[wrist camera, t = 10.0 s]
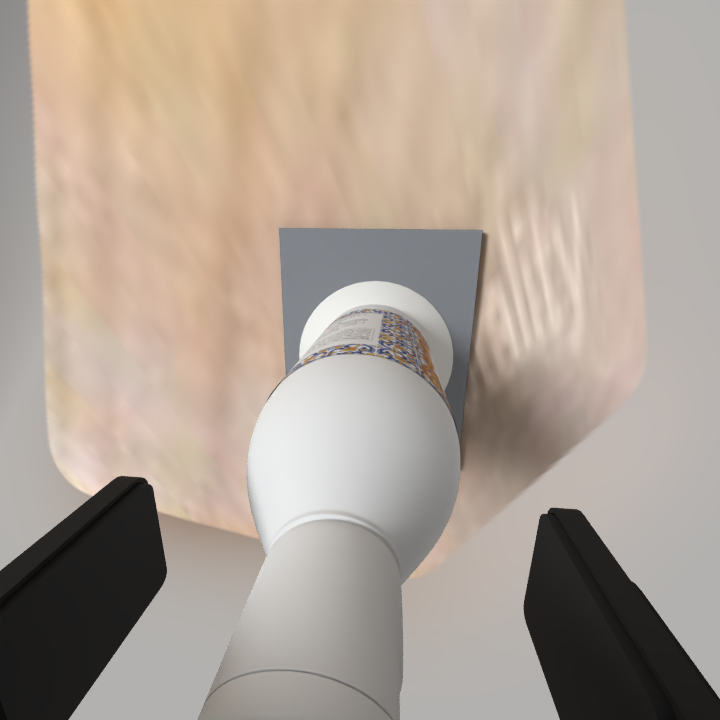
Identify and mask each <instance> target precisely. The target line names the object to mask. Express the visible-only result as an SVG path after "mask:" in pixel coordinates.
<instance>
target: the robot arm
mask: <svg viewBox="0 0 720 720" xmlns="http://www.w3.org/2000/svg"><path fill="white" fill-rule="evenodd" d="M166 574H167V567H166V561H165V555H164V550H163V544H162V538H161V532H160V527H159V520H158V515H157V509H156V503H155V497H154V491H153V488H152V486H151V485H149V484H148V482H147V480H146V479H145V478H141V477H127V476H120V477H117V478H115V479H114V480H113V481H111V482H110V483H109V484H108V485H106V486H105V487H104V488H103V489H101V490H100V491H99V492H98V493H96V494H95V495H94V496H93V497H91V498H90V499H89V500H88V501H86V502H85V503H84V504H83V505H82V506H80V507H79V508H78V509H77V510H75V511H74V512H73V513H72V514H70V515H69V516H68V517H67V518H65V519H64V520H63V521H62V522H60V523H59V524H58V525H57V526H56V527H54V528H53V529H52V530H50V531H49V532H48V533H47V534H45V535H44V536H43V537H42V538H40V539H39V540H38V541H37V542H36V543H34V544H33V545H32V546H31V547H29V548H28V549H27V550H26V551H24V552H23V553H22V554H21V555H20V556H18V557H17V558H16V559H14V560H13V561H12V562H11V563H10V564H8V565H7V566H6V567H4V568H3V569H2V570H1V571H0V720H68V719H69V718H70V717H71V715H72V714H73V712H74V711H75V709H76V708H77V706H78V705H79V704H80V702H81V701H82V699H83V698H84V697H85V695H86V694H87V692H88V691H89V689H90V688H91V686H92V685H93V684H94V682H95V681H96V679H97V678H98V677H99V675H100V674H101V672H102V671H103V670H104V668H105V667H106V665H107V664H108V662H109V661H110V660H111V658H112V657H113V655H114V654H115V652H116V651H117V650H118V648H119V647H120V645H121V644H122V642H123V641H124V639H125V638H126V637H127V635H128V634H129V632H130V631H131V630H132V628H133V627H134V625H135V624H136V622H137V621H138V620H139V618H140V617H141V615H142V614H143V612H144V611H145V609H146V608H147V607H148V605H149V604H150V602H151V601H152V599H153V598H154V597H155V595H156V594H157V592H158V591H159V590H160V588H161V587H162V585H163V583H164V581H165V578H166ZM524 616H525V620H526V624H527V627H528V630H529V633H530V635H531V638H532V641H533V644H534V647H535V650H536V653H537V655H538V658H539V661H540V664H541V667H542V670H543V673H544V675H545V678H546V681H547V684H548V687H549V690H550V692H551V695H552V698H553V701H554V704H555V707H556V710H557V712H558V715H559V718H560V720H720V699H719V697H718V696H717V694H716V693H715V692H714V690H713V689H712V688H711V686H710V685H709V684H708V682H707V681H706V679H705V678H704V677H703V675H702V674H701V672H699V670H698V668H697V667H696V665H695V664H694V663H693V661H692V660H691V659H690V657H689V656H688V655H687V653H686V652H685V650H684V649H683V648H682V646H681V645H680V643H679V642H678V641H677V639H676V638H675V636H674V635H673V634H672V632H671V631H670V630H669V628H668V627H667V625H666V624H665V623H664V621H663V620H662V619H661V617H660V616H659V614H658V613H657V612H656V610H655V609H654V607H653V606H652V605H651V603H650V602H649V601H648V599H647V598H646V596H645V595H644V594H643V592H642V591H641V590H640V589H639V588H638V586H637V585H636V584H635V583H633V582H632V581H631V580H630V579H629V578H628V576H627V575H626V573H625V572H624V571H623V569H622V568H621V566H620V565H619V564H618V562H617V561H616V560H615V558H614V557H613V555H612V554H611V553H610V551H609V550H608V548H607V547H606V545H605V544H604V543H603V541H602V540H601V539H600V537H599V536H598V534H597V533H596V531H595V530H594V529H593V527H592V526H591V525H590V523H589V522H588V520H587V519H586V517H585V516H584V515H583V514H582V512H581V511H579V510H577V509H563V508H550V509H549V511H548V513H547V514H542V515H541V516H540V519H539V525H538V530H537V535H536V541H535V547H534V551H533V557H532V563H531V568H530V573H529V579H528V584H527V589H526V594H525V600H524Z"/></svg>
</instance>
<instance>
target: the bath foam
mask: <svg viewBox="0 0 720 720" xmlns="http://www.w3.org/2000/svg"><path fill="white" fill-rule="evenodd" d="M459 480H460V446H459V436H458V431H457V427H456V423H455V420H454V417H453V414H452V412H451V409H450V406H449V403H448V400H447V397H446V395H445V392H444V389H443V386H442V383H441V380H440V378H439V375H438V372H437V369H436V366H435V363H434V360H433V358H432V355H431V352H430V349H429V346H428V344H427V342H426V339H425V337H424V335H423V333H422V331H421V329H420V328H419V327H418V325H417V324H416V323H415V322H414V321H413V320H412V319H411V318H410V317H409V316H408V315H406V314H405V313H403V312H401V311H400V310H398V309H395V308H393V307H390V306H386V305H376V304H369V305H361V306H357V307H354V308H351V309H349V310H347V311H345V312H344V313H342V314H341V315H339V316H338V317H337V318H336V319H335V320H334V321H333V322H332V323H331V324H330V325H329V326H328V327H327V328H326V329H325V331H324V332H323V333H322V334H321V335H320V336H319V338H318V339H317V340H316V341H315V342H314V343H313V345H312V346H311V347H310V348H309V349H308V350H307V352H306V353H305V354H304V355H303V356H302V357H301V359H300V360H299V361H298V362H297V363H296V364H295V366H294V367H293V368H292V369H291V370H290V372H289V373H288V374H287V375H286V376H285V377H284V379H283V380H282V381H281V382H280V383H279V384H278V386H277V387H276V388H275V389H274V391H273V392H272V393H271V395H270V396H269V398H268V400H267V402H266V404H265V406H264V408H263V410H262V412H261V414H260V416H259V418H258V421H257V423H256V426H255V429H254V432H253V435H252V439H251V443H250V448H249V453H248V462H247V487H248V496H249V502H250V507H251V511H252V515H253V519H254V522H255V526H256V529H257V532H258V535H259V538H260V541H261V544H262V546H263V549H264V552H265V555H266V559H265V561H264V563H263V566H262V568H261V570H260V572H259V575H258V577H257V579H256V581H255V584H254V586H253V588H252V591H251V593H250V596H249V598H248V600H247V603H246V605H245V607H244V610H243V612H242V615H241V617H240V619H239V622H238V624H237V627H236V629H235V631H234V634H233V636H232V638H231V641H230V643H229V646H228V649H227V651H226V653H225V655H224V658H223V660H222V662H221V665H220V667H219V670H218V672H217V674H216V677H215V679H214V682H213V684H212V686H211V689H210V692H209V694H208V696H207V698H206V701H205V703H204V706H203V708H202V710H201V713H200V715H199V717H198V720H400V711H399V710H400V706H399V705H400V704H399V695H400V691H401V686H402V678H403V626H402V595H401V585H402V584H403V583H404V582H405V581H406V580H407V578H408V577H409V576H410V575H411V574H412V573H413V572H414V570H415V569H416V568H417V567H418V566H419V565H420V563H421V562H422V561H423V560H424V559H425V557H426V556H427V555H428V554H429V552H430V551H431V550H432V548H433V547H434V545H435V544H436V542H437V541H438V539H439V538H440V536H441V534H442V533H443V531H444V529H445V527H446V525H447V523H448V521H449V518H450V516H451V514H452V511H453V507H454V504H455V501H456V497H457V493H458V487H459Z"/></svg>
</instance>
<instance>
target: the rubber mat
mask: <svg viewBox="0 0 720 720" xmlns="http://www.w3.org/2000/svg"><path fill="white" fill-rule="evenodd" d="M482 231H483V230H423V229H321V228H279V236H280V258H281V280H282V301H283V323H284V345H285V367H286V375H287V374H288V373H289V372H290V370H291V369H292V368H293V367H294V366H295V364H296V363H297V362H298V361H299V360H300V359H301V357H302V356H303V355H304V354H305V353H306V352H307V350H308V349H309V348H310V347H311V346H312V345H313V343H314V342H315V341H316V340H317V339H318V338H319V336H320V335H321V334H322V333H323V332H324V331H325V329H326V328H327V327H328V326H329V325H330V324H331V323H332V322H333V321H334V320H335V319H336V318H337V317H338V316H339V315H341V314H342V313H344V312H345V311H347V310H349V309H351V308H354V307H357V306H361V305H369V304H376V305H386V306H390V307H393V308H395V309H398V310H400V311H401V312H403V313H405V314H406V315H408V316H409V317H410V318H411V319H412V320H413V321H414V322H415V323H416V324H417V325H418V327H419V328H420V329H421V331H422V333H423V335H424V337H425V339H426V342H427V344H428V346H429V349H430V352H431V355H432V358H433V360H434V363H435V366H436V369H437V372H438V375H439V378H440V380H441V383H442V386H443V389H444V392H445V395H446V397H447V400H448V403H449V406H450V409H451V412H452V414H453V417H454V420H455V423H456V427H457V431H458V436H459V446H460V442H461V432H462V422H463V413H464V403H465V394H466V384H467V375H468V365H469V356H470V346H471V336H472V327H473V317H474V308H475V298H476V289H477V279H478V270H479V260H480V250H481V241H482Z"/></svg>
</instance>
